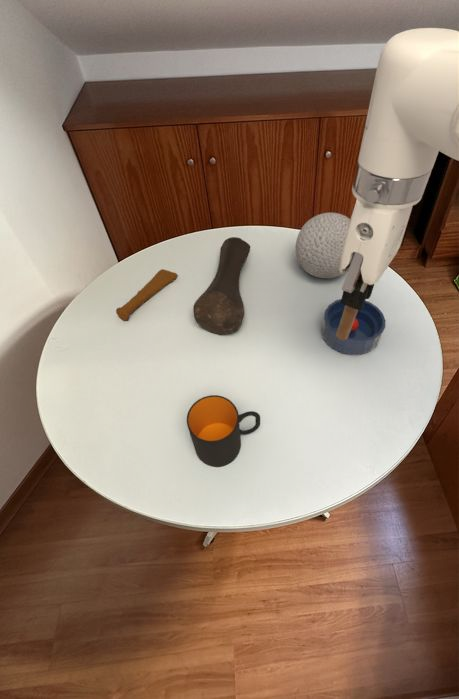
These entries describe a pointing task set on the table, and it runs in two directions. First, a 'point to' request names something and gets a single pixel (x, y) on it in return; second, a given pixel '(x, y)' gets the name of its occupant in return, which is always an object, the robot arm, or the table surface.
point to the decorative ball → (322, 244)
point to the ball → (355, 325)
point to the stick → (347, 321)
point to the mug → (217, 429)
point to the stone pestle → (224, 291)
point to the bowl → (359, 339)
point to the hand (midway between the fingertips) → (355, 299)
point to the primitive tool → (146, 293)
